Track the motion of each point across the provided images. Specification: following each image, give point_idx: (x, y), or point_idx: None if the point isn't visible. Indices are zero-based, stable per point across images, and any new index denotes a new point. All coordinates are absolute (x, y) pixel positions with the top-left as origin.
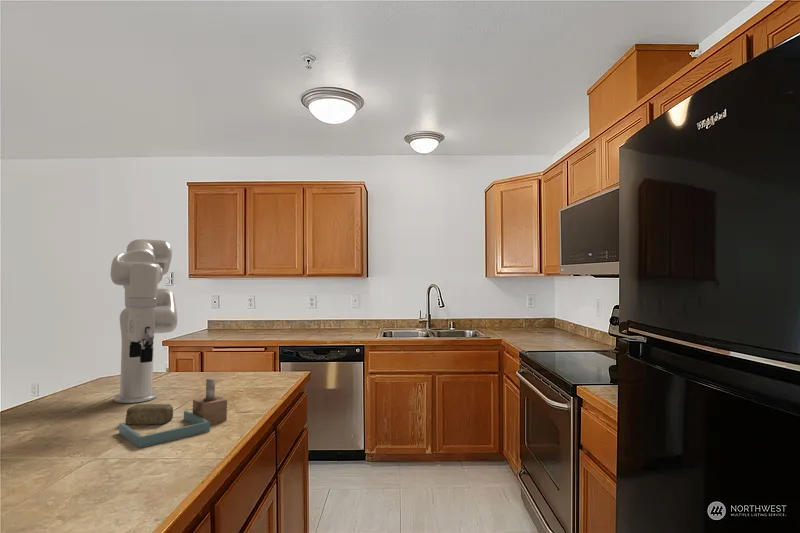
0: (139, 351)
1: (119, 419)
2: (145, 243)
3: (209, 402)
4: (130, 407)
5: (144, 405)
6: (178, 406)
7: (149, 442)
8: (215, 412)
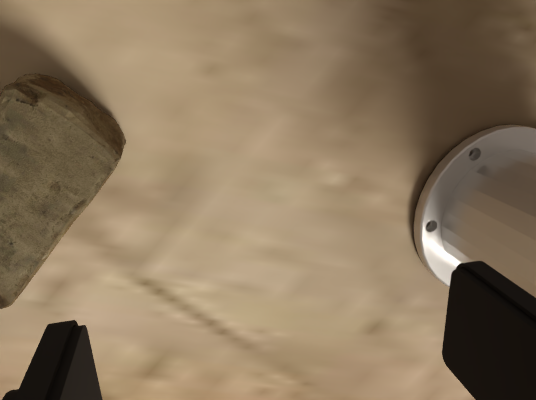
0: (479, 386)
1: (178, 73)
2: None
3: None
4: (29, 108)
5: (40, 187)
6: (237, 330)
7: None
8: None
